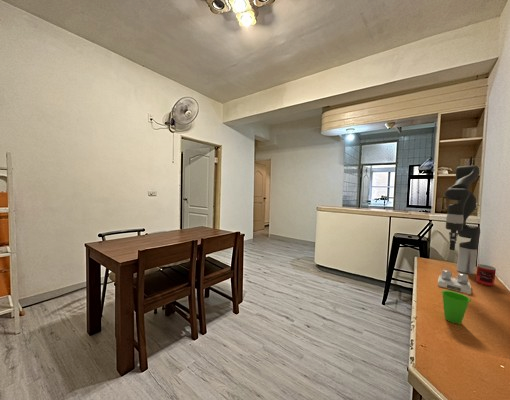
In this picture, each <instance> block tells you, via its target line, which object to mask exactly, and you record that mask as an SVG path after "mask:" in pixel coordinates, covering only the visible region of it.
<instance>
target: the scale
mask: <svg viewBox="0 0 510 400" xmlns="http://www.w3.org/2000/svg"><path fill="white" fill-rule="evenodd" d="M441 277H442V274H439V276H438V279H437V287H441V288H444V289H449V290H451V291H455V292H459V293H460V292H461V293H462V294H463V293H464V294H467V295H471V294H472V286H471V283H470V281H468V285H464V284H460V283H458V282H457V278H455V277H451V281H447V280H444V279H442V278H441Z"/></svg>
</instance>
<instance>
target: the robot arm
mask: <svg viewBox="0 0 510 400" xmlns="http://www.w3.org/2000/svg"><path fill="white" fill-rule="evenodd" d="M479 175H480V167H479V166H478V165H464V166H463V165H462V166H457V167H456V169H455V179H456V181H455V182H454V184H453V185H451V186H450V187H448V188H447V189H446V190H445V193H444V197H445V198H446V199H447V200H450V201H457V203H452V204H448V206H447V214H446V218H445V219H446V220H445V229H446V230H448V231H449V230H450V231H449V232H448V236H449V238H448V239H449V250H450V251H455V248H456V244H457V241H458V237H459V238H464V239H469V241H464V242H459V245H458V254H457V262H456V263H457V264H456V271H458V272H459V273H463V274H466V275H475V273H476V268H477V267H476V265H477V257H478V249H479V248H478V247H479V242H480V237H481V228H480V227H479V226H478V225H470V224H466V223H467V219H468V218H469V217H470V215H472V213H474V211H476V209H477V197H476V196H475V195H474V193H473V192H472V191H470V190H469V188H470V187H471V185H472V184H473V183H474V182H475V181H476V180H477V179H478V178H479Z"/></svg>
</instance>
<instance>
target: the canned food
mask: <svg viewBox="0 0 510 400" xmlns="http://www.w3.org/2000/svg"><path fill="white" fill-rule="evenodd" d="M496 270H497V269H496V267H494V266H491V265H487V264H483V263H482V264H481V263H479V264H477V267H476V275H475V276H476V277H475V278H476V279H475V281H476V283H477V284H479V285H482V286H484V287H490V288H491V287H494V285H495V279H496Z"/></svg>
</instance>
